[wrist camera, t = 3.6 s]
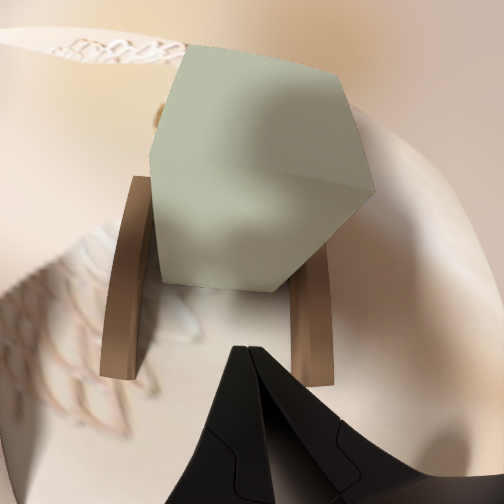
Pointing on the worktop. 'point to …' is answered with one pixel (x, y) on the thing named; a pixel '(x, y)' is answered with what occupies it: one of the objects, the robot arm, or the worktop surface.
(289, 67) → the key block
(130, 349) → the walnut slot
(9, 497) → the medicine bottle
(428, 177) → the worktop surface
